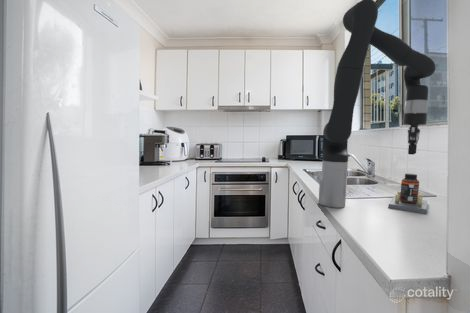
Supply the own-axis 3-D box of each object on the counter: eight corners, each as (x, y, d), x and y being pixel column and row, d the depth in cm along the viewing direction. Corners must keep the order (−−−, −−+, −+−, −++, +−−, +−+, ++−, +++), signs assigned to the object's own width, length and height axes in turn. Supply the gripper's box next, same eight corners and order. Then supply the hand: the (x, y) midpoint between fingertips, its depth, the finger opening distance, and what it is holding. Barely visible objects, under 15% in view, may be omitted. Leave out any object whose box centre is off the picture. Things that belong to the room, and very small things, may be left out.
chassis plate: (388, 207, 105) (389, 196, 104) (393, 199, 119) (394, 189, 119) (426, 213, 98) (427, 201, 97) (426, 204, 112) (427, 193, 112)
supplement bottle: (414, 204, 104) (417, 175, 103) (397, 201, 109) (399, 173, 108) (419, 202, 108) (422, 174, 107) (402, 199, 113) (405, 172, 112)
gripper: (405, 114, 114) (402, 152, 116) (402, 111, 103) (399, 154, 104) (427, 113, 110) (424, 153, 111) (426, 110, 98) (423, 155, 100)
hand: (412, 153), depth 108 cm, fingers open, 8 cm apart
